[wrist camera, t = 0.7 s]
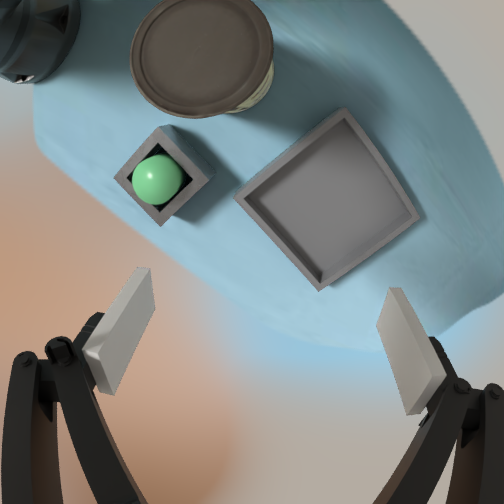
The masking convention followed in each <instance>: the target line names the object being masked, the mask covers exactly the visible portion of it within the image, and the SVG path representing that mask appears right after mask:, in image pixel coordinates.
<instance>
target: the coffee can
mask: <svg viewBox="0 0 504 504" xmlns="http://www.w3.org/2000/svg"><path fill="white" fill-rule="evenodd" d="M130 69H131V74H132V77H133V80H134V82H135V85H136V87H137V88H138V90H139V91H140V93H141V94H142V95H143V96H144V98H145V99H146V100H147V101H148V102H149V103H151V104H152V105H153V106H155V107H156V108H158V109H159V110H161V111H163V112H165V113H168V114H170V115H173V116H177V117H182V118H192V119H198V118H207V117H211V116H216V115H219V114H226V113H237V112H241V111H244V110H246V109H248V108H251V107H252V106H254V105H255V104H257V103H258V102H259V101H260V100H261V99H262V98H263V97H264V96H265V95H266V93H267V92H268V90H269V88H270V86H271V84H272V81H273V76H274V63H273V35H272V31H271V27H270V25H269V23H268V21H267V19H266V17H265V15H264V14H263V13H262V11H261V10H260V9H259V8H258V7H257V6H256V5H255V4H254V3H253V2H252V1H251V0H163V1H162V2H160V3H159V4H157V5H156V6H155V7H154V8H153V9H152V10H151V11H150V12H149V13H148V14H147V15H146V16H145V18H144V19H143V20H142V22H141V23H140V25H139V26H138V28H137V30H136V32H135V35H134V37H133V40H132V44H131V48H130Z"/></svg>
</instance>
